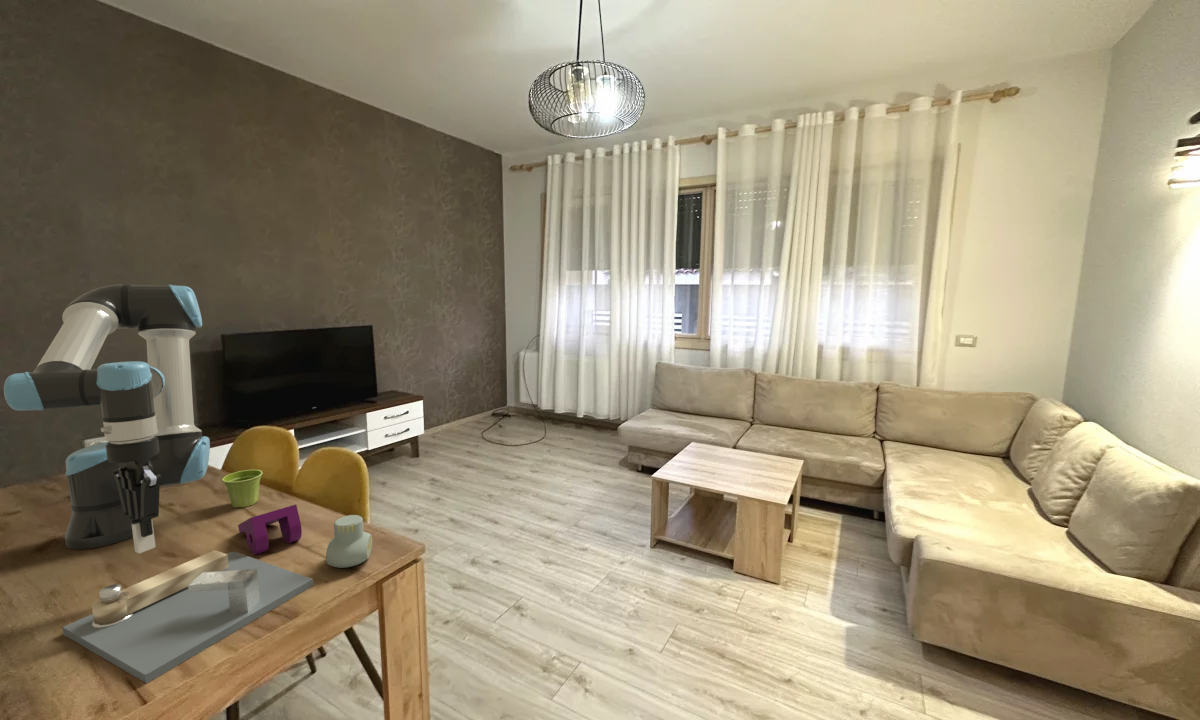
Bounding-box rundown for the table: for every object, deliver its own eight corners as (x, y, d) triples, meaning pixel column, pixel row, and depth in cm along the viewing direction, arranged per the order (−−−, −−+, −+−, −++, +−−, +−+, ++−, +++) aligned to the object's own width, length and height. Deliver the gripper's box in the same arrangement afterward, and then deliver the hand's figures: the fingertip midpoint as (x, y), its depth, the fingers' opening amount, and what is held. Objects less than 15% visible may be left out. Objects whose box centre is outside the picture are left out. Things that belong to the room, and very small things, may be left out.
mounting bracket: (241, 559, 120) (258, 553, 109) (234, 527, 122) (250, 517, 110) (283, 545, 128) (304, 537, 116) (276, 514, 129) (296, 504, 118)
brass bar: (102, 627, 84) (100, 612, 84) (88, 619, 86) (86, 604, 86) (229, 567, 103) (228, 554, 103) (215, 562, 105) (214, 549, 105)
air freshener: (365, 571, 106) (363, 529, 105) (324, 576, 104) (321, 534, 102) (374, 546, 116) (372, 508, 115) (336, 551, 114) (334, 511, 113)
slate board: (63, 634, 85) (62, 627, 85) (233, 557, 111) (233, 551, 111) (146, 683, 75) (145, 674, 75) (313, 585, 100) (312, 578, 100)
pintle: (85, 622, 86) (81, 593, 85) (125, 604, 91) (122, 576, 90) (101, 631, 84) (97, 601, 83) (141, 612, 89) (138, 583, 88)
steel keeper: (191, 617, 88) (187, 585, 87) (205, 603, 92) (202, 572, 91) (248, 612, 89) (245, 580, 89) (259, 599, 93) (256, 568, 92)
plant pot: (270, 501, 140) (268, 473, 139) (233, 513, 132) (230, 484, 131) (256, 494, 145) (253, 467, 144) (219, 505, 137) (216, 477, 136)
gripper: (90, 440, 94) (104, 551, 97) (125, 448, 89) (139, 565, 92) (138, 430, 101) (150, 535, 104) (173, 437, 96) (185, 547, 99)
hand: (145, 549), depth 98 cm, fingers closed
